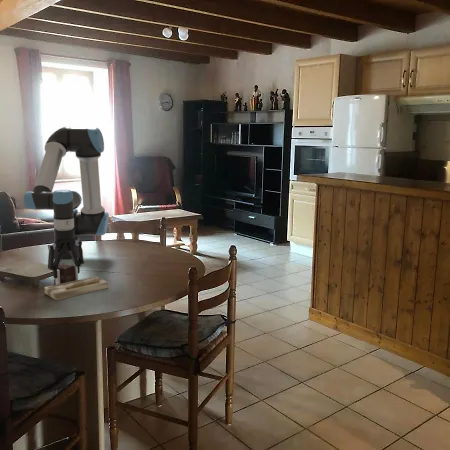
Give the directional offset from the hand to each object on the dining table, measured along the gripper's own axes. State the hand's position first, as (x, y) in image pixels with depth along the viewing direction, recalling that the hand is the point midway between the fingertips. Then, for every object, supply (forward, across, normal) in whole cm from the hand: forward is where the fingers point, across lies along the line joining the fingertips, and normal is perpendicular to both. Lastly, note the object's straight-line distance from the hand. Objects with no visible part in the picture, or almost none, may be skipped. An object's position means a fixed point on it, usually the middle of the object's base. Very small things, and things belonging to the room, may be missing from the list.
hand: (67, 283), depth 195 cm
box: (0, 0, +1) cm, 1 cm away
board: (+1, 0, -9) cm, 9 cm away
